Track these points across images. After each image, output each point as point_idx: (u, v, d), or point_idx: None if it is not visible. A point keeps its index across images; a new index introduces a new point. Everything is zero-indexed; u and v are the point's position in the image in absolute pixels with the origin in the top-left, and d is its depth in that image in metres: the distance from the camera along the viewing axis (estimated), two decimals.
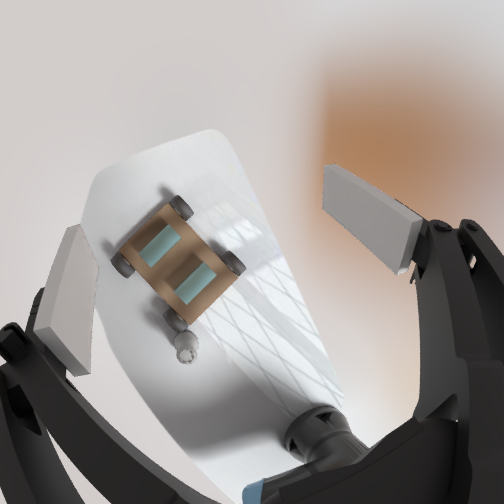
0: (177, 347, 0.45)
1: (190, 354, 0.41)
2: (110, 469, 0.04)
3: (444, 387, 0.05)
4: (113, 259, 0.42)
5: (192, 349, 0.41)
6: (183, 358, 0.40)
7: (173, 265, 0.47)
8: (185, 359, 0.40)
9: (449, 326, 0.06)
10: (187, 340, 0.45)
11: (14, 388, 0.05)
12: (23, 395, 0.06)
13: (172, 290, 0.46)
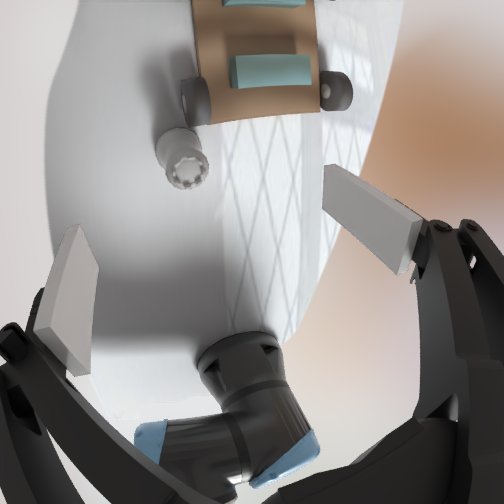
0: (164, 147, 0.22)
1: (197, 172, 0.19)
2: (110, 469, 0.04)
3: (445, 387, 0.05)
4: None
5: (206, 165, 0.20)
6: (179, 171, 0.19)
7: (254, 27, 0.19)
8: (181, 176, 0.19)
9: (449, 326, 0.06)
10: (192, 145, 0.22)
11: (14, 388, 0.05)
12: (23, 395, 0.06)
13: (224, 56, 0.20)
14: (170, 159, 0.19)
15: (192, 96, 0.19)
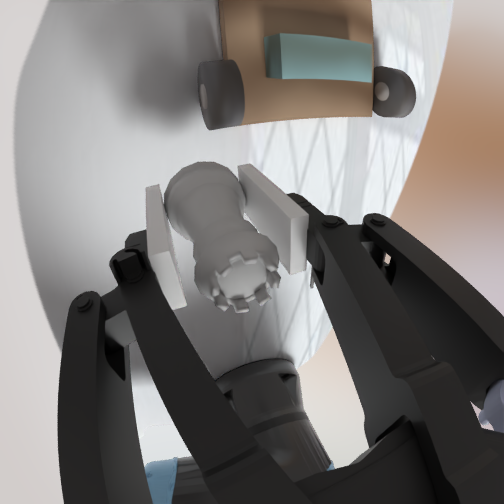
0: (182, 204, 0.13)
1: (260, 280, 0.10)
2: (198, 406, 0.05)
3: (390, 406, 0.05)
4: None
5: (276, 263, 0.10)
6: (226, 281, 0.09)
7: (299, 1, 0.13)
8: (229, 289, 0.10)
9: (373, 341, 0.06)
10: (234, 203, 0.13)
11: (122, 314, 0.08)
12: (127, 323, 0.08)
13: (259, 34, 0.14)
14: (204, 256, 0.09)
15: (218, 86, 0.13)
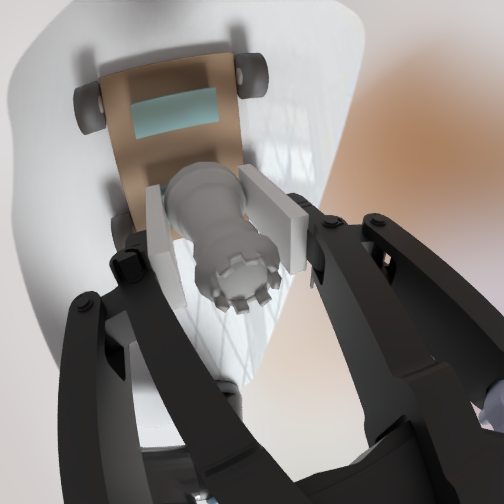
0: (182, 204, 0.13)
1: (261, 280, 0.10)
2: (198, 406, 0.05)
3: (391, 407, 0.05)
4: (80, 92, 0.16)
5: (277, 263, 0.10)
6: (226, 283, 0.09)
7: (172, 151, 0.24)
8: (229, 290, 0.10)
9: (373, 341, 0.06)
10: (235, 203, 0.13)
11: (122, 314, 0.08)
12: (127, 323, 0.08)
13: None
14: (205, 257, 0.09)
15: (118, 243, 0.23)
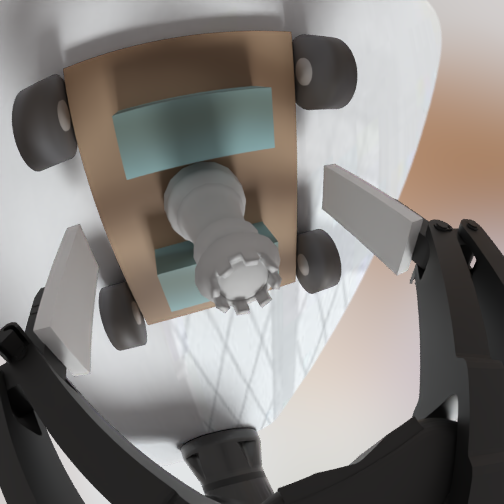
0: (182, 204, 0.13)
1: (261, 281, 0.10)
2: (110, 469, 0.04)
3: (445, 387, 0.05)
4: (24, 97, 0.07)
5: (277, 264, 0.10)
6: (227, 283, 0.09)
7: None
8: (230, 291, 0.10)
9: (449, 326, 0.06)
10: (235, 203, 0.13)
11: (14, 388, 0.05)
12: (23, 395, 0.06)
13: (149, 248, 0.16)
14: (205, 257, 0.09)
15: (113, 334, 0.15)
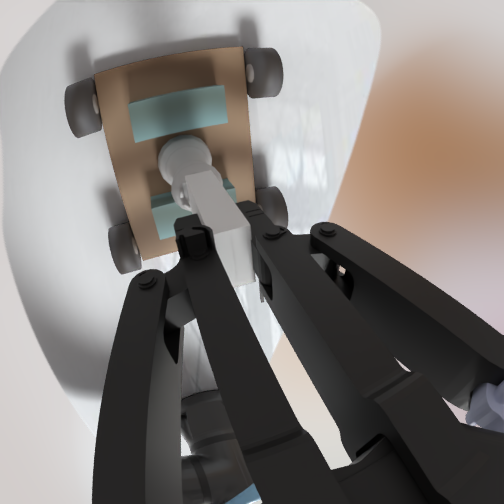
0: (169, 159, 0.19)
1: None
2: (249, 385, 0.05)
3: (365, 425, 0.05)
4: (72, 90, 0.14)
5: None
6: None
7: None
8: None
9: (334, 361, 0.06)
10: (201, 157, 0.19)
11: (187, 290, 0.08)
12: (190, 300, 0.09)
13: (146, 195, 0.23)
14: (177, 176, 0.16)
15: (117, 256, 0.21)
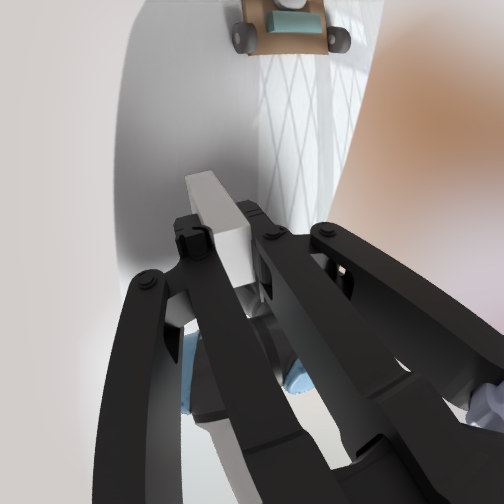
0: None
1: None
2: (249, 385, 0.05)
3: (365, 424, 0.05)
4: None
5: None
6: None
7: None
8: None
9: (334, 361, 0.06)
10: None
11: (187, 290, 0.08)
12: (190, 300, 0.09)
13: (262, 12, 0.26)
14: None
15: (245, 31, 0.25)
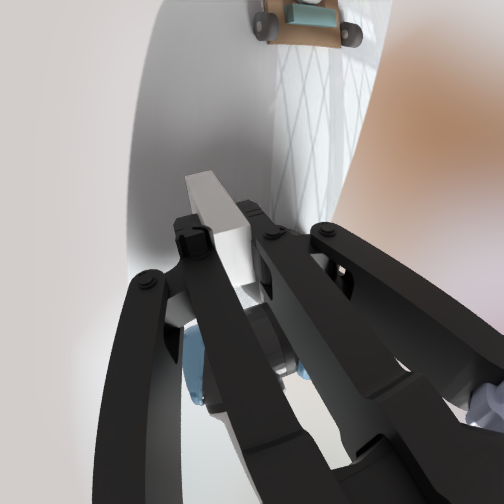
0: None
1: None
2: (249, 385, 0.05)
3: (364, 425, 0.05)
4: None
5: None
6: None
7: None
8: None
9: (335, 361, 0.06)
10: None
11: (187, 290, 0.08)
12: (190, 300, 0.09)
13: (282, 5, 0.27)
14: None
15: (268, 19, 0.25)
